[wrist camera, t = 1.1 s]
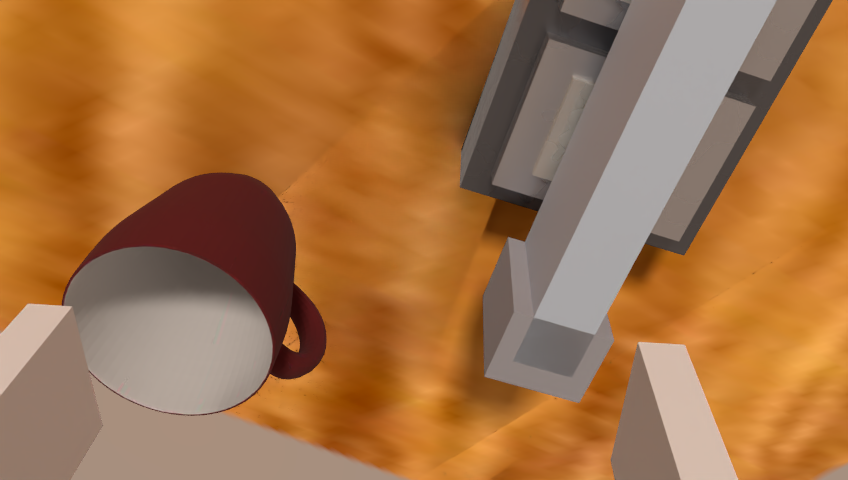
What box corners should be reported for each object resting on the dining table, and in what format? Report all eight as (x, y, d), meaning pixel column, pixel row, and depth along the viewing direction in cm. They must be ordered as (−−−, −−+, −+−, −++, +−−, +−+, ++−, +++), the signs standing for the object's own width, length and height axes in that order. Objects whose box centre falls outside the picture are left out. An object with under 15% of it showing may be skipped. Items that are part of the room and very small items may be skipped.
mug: (396, 235, 36) (372, 369, 27) (301, 331, 39) (253, 476, 31) (216, 98, 33) (125, 200, 24) (129, 215, 36) (23, 340, 28)
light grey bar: (672, -148, 22) (721, -138, 18) (781, -109, 22) (856, -89, 18) (482, 296, 30) (484, 376, 26) (564, 319, 31) (578, 402, 26)
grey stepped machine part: (461, 148, 34) (455, 308, 23) (632, -324, 25) (755, -428, 14) (663, 211, 35) (748, 392, 24) (897, -221, 26) (1206, -244, 15)
